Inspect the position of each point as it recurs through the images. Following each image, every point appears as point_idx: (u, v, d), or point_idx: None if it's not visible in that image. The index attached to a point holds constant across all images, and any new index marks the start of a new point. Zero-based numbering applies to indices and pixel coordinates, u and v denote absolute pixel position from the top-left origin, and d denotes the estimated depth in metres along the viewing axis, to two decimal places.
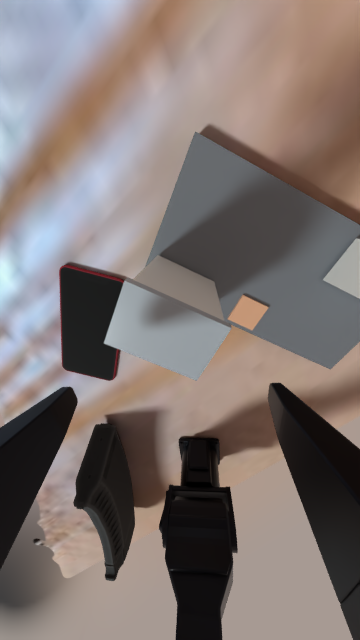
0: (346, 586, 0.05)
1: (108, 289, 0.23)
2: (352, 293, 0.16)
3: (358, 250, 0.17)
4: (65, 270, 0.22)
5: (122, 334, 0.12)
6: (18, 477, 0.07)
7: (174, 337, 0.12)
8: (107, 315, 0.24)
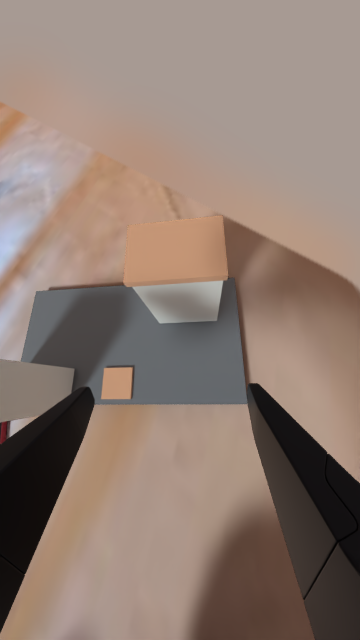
0: (307, 582, 0.05)
1: None
2: (149, 309, 0.18)
3: None
4: None
5: None
6: (42, 478, 0.07)
7: None
8: None
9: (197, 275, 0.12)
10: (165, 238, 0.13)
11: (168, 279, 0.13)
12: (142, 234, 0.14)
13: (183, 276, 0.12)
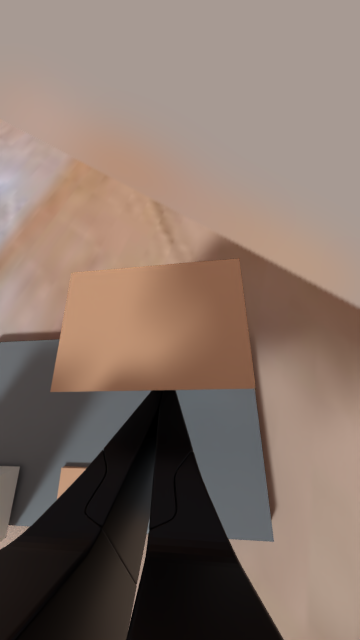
0: None
1: None
2: None
3: None
4: None
5: None
6: (145, 481, 0.06)
7: None
8: None
9: (194, 385, 0.06)
10: (134, 300, 0.07)
11: (135, 390, 0.06)
12: (94, 291, 0.08)
13: (165, 384, 0.06)
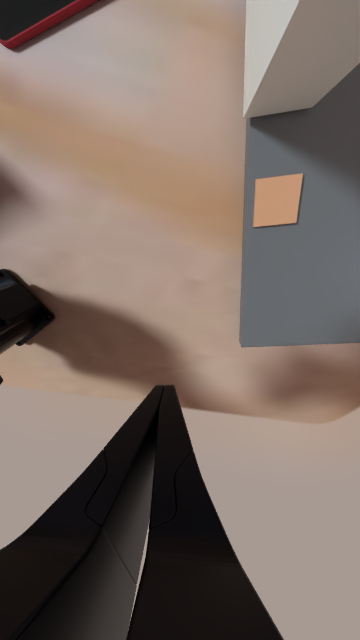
0: None
1: None
2: None
3: None
4: None
5: None
6: (145, 481, 0.06)
7: None
8: None
9: None
10: None
11: None
12: None
13: None
